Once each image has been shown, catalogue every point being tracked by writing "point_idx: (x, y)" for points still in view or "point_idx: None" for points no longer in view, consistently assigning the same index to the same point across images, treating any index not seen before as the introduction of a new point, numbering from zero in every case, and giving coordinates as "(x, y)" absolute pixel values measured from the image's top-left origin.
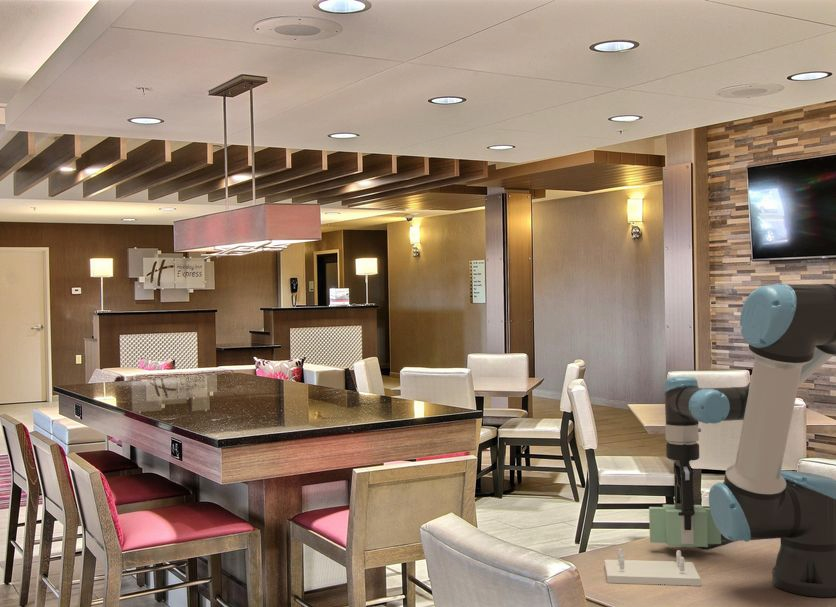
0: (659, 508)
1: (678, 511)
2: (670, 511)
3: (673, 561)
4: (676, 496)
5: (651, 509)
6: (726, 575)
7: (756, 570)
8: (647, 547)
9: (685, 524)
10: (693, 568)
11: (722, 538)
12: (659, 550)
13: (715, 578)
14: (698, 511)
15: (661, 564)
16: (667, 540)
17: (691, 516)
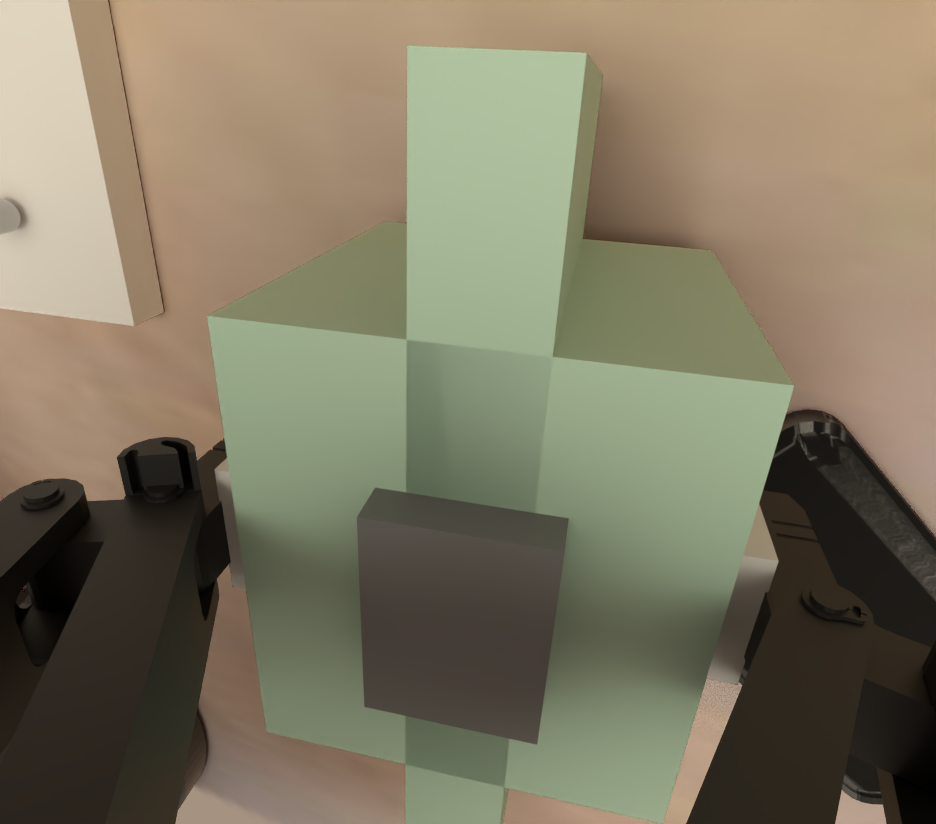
0: (436, 250)
1: (245, 478)
2: (226, 374)
3: (106, 197)
4: (752, 699)
5: (411, 82)
6: (105, 458)
7: (226, 612)
8: (721, 66)
9: (216, 449)
10: (4, 298)
11: None
12: (606, 172)
13: (37, 390)
14: (286, 678)
15: (4, 83)
16: (366, 232)
17: (233, 564)
